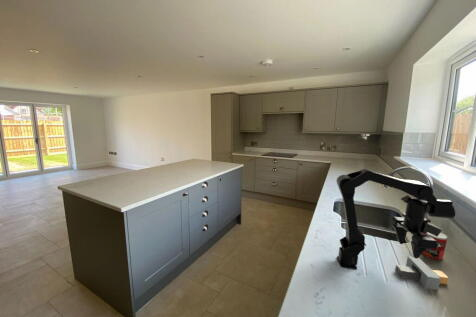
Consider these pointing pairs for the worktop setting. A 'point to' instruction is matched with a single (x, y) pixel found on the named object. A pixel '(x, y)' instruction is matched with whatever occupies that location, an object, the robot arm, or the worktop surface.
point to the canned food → (438, 252)
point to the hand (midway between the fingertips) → (408, 250)
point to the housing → (424, 273)
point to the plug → (417, 273)
